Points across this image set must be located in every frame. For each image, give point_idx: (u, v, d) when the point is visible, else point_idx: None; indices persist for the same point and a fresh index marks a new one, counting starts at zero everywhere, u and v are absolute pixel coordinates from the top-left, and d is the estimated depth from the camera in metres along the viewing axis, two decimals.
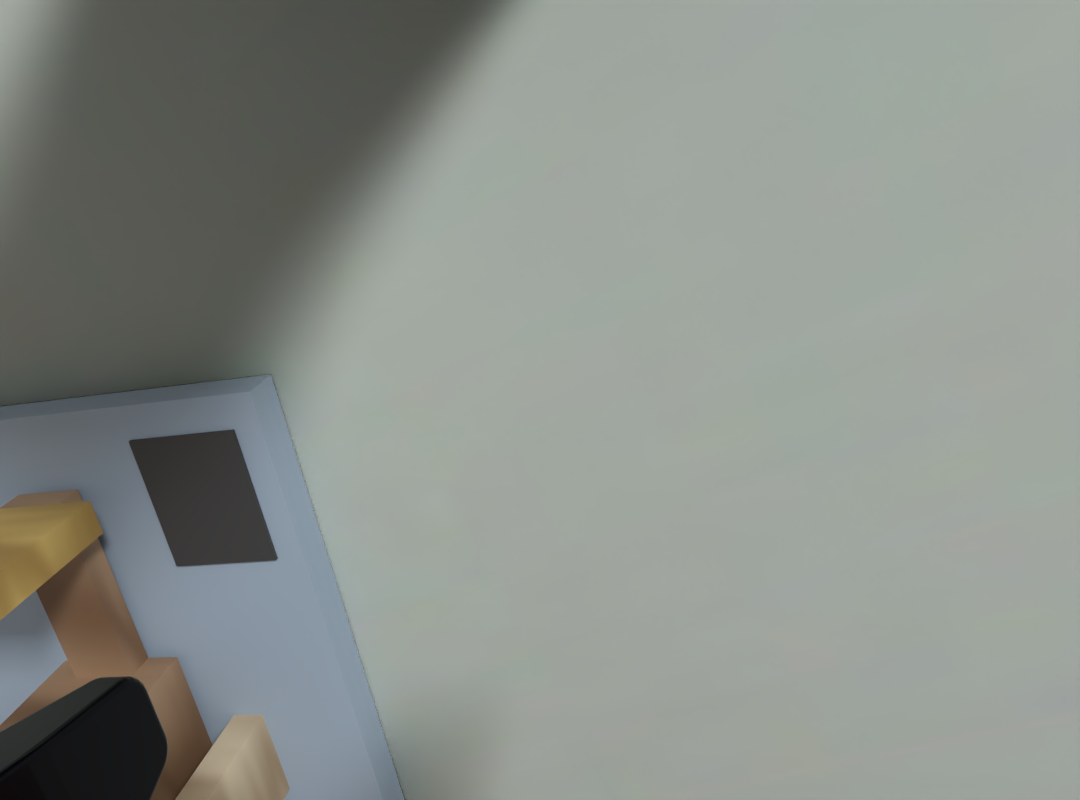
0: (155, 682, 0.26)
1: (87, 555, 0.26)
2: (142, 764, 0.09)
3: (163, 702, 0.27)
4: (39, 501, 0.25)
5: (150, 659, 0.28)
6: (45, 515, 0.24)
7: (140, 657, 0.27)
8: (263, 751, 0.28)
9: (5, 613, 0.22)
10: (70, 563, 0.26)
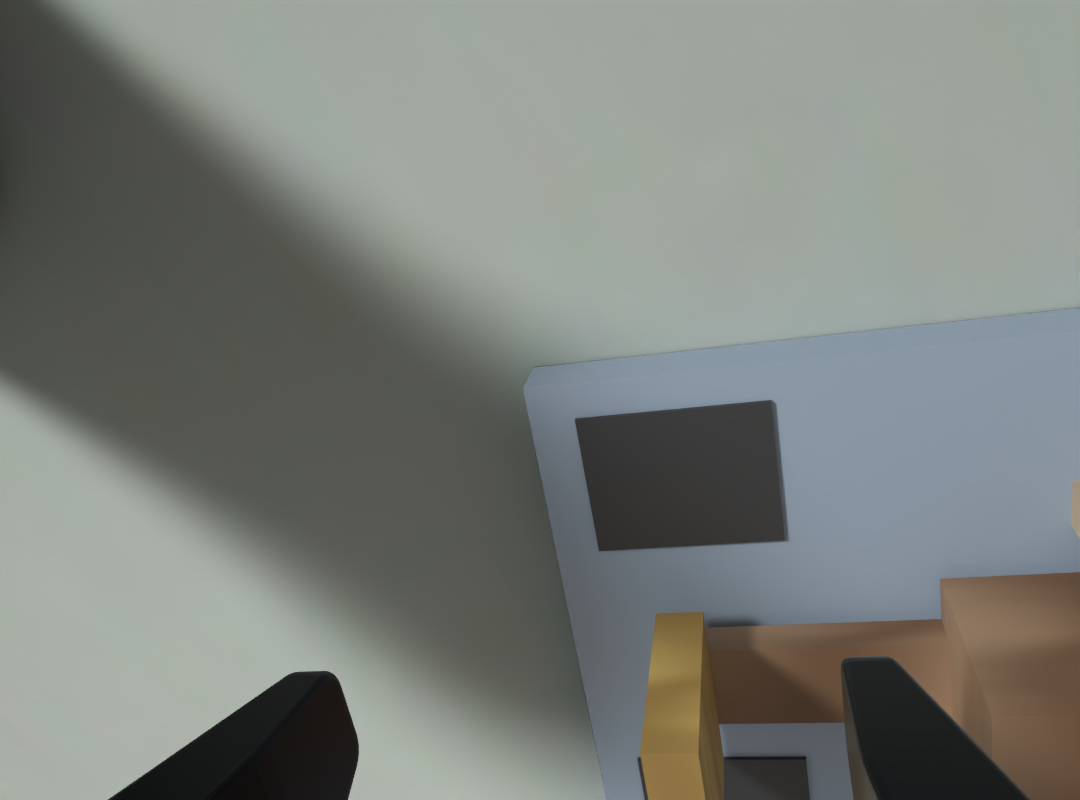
0: (953, 612, 0.18)
1: (746, 643, 0.19)
2: (340, 764, 0.08)
3: (993, 610, 0.17)
4: None
5: (943, 616, 0.19)
6: None
7: (931, 627, 0.19)
8: None
9: (698, 741, 0.16)
10: (752, 666, 0.19)
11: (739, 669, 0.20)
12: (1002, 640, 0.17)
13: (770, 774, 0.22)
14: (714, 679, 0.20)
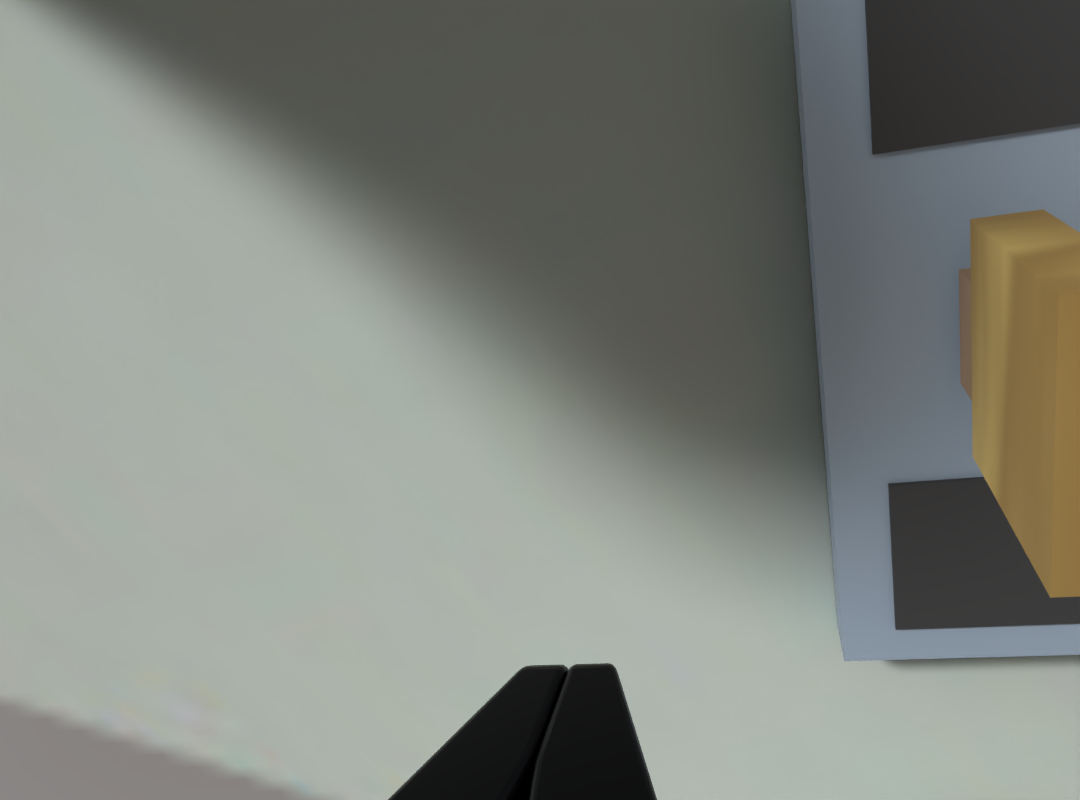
0: None
1: None
2: None
3: None
4: (967, 328, 0.15)
5: None
6: (981, 289, 0.13)
7: None
8: None
9: None
10: None
11: None
12: None
13: None
14: None
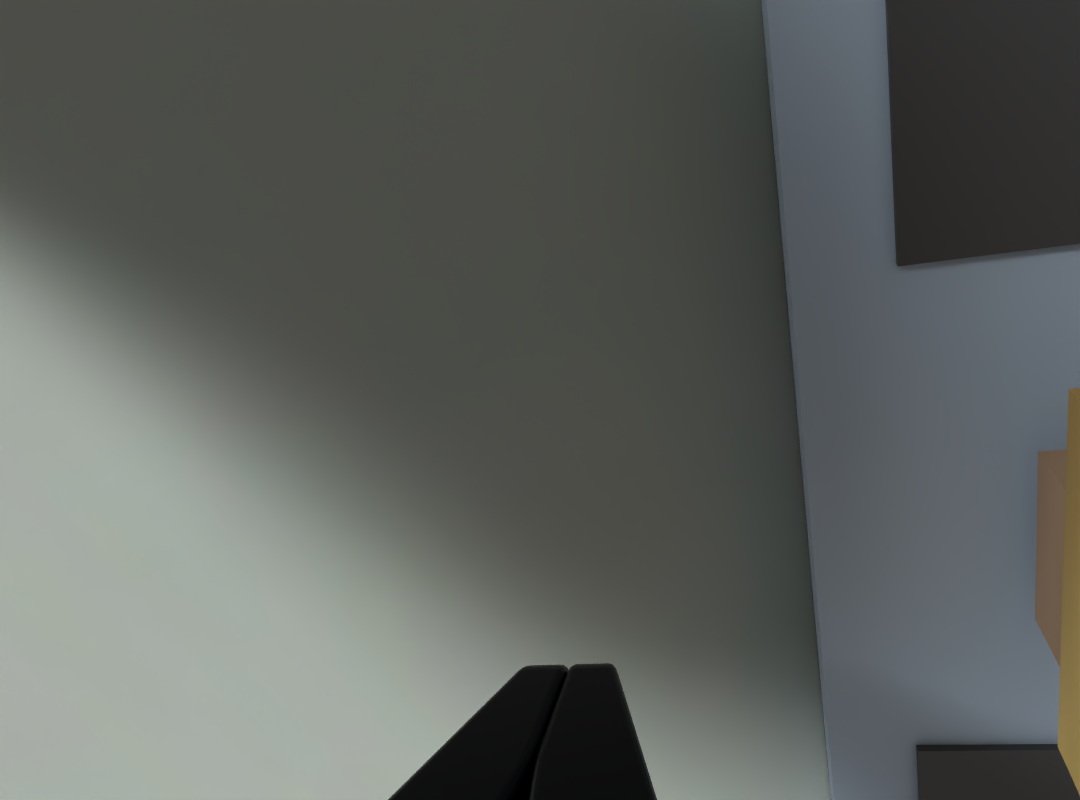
0: None
1: None
2: None
3: None
4: (1054, 553, 0.09)
5: None
6: None
7: None
8: None
9: None
10: None
11: None
12: None
13: None
14: None
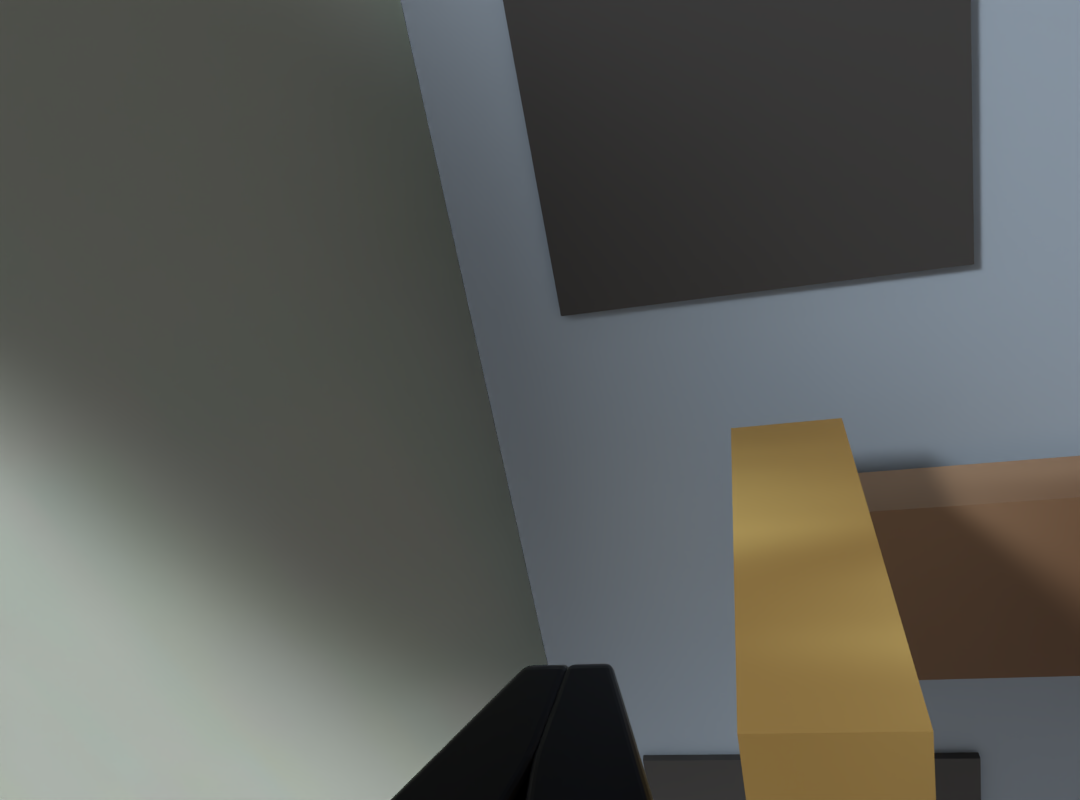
0: None
1: (931, 496, 0.09)
2: None
3: None
4: None
5: None
6: None
7: None
8: None
9: (921, 696, 0.05)
10: (948, 548, 0.09)
11: (916, 556, 0.09)
12: None
13: None
14: None
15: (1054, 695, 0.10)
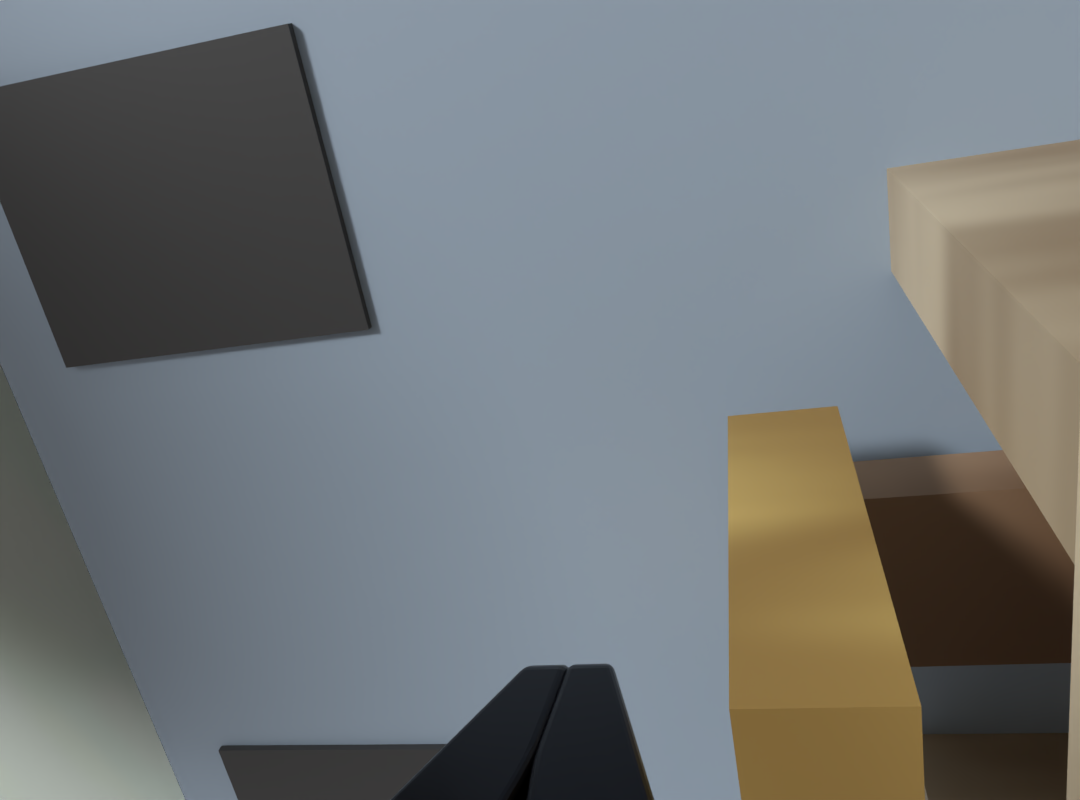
0: None
1: (925, 485, 0.09)
2: None
3: None
4: None
5: None
6: None
7: None
8: (1013, 161, 0.08)
9: (909, 673, 0.05)
10: (943, 535, 0.09)
11: (911, 543, 0.09)
12: None
13: None
14: None
15: None
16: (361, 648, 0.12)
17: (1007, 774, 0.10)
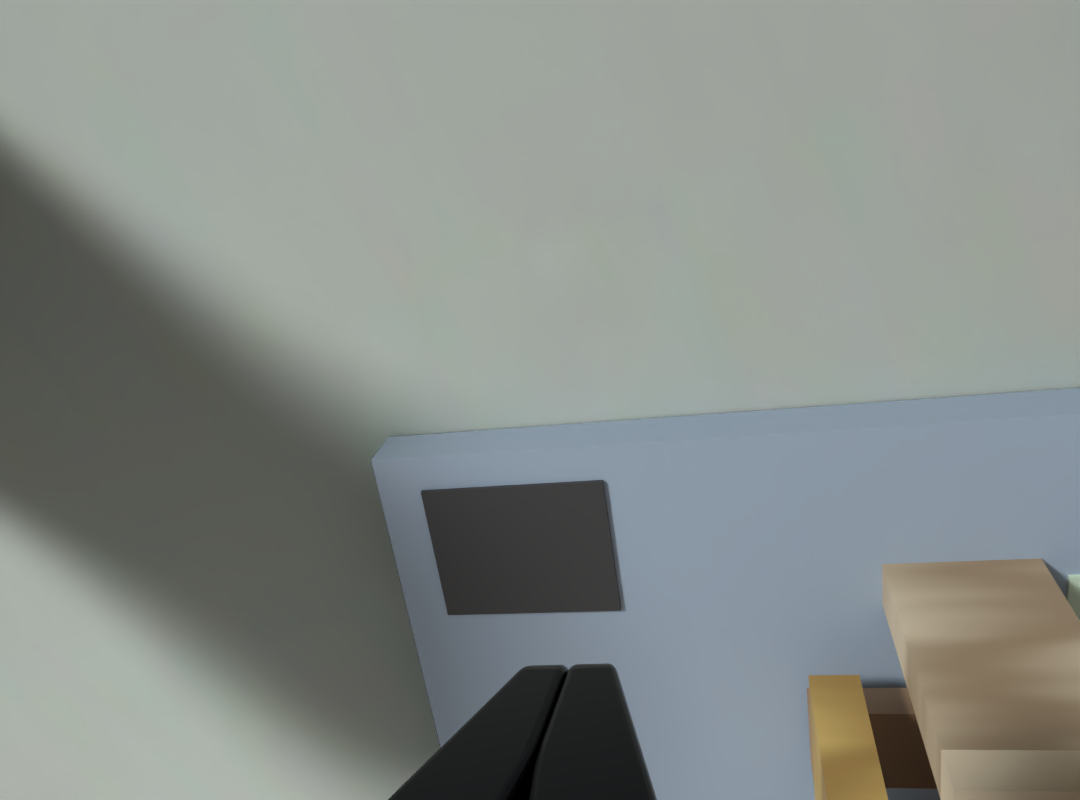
0: None
1: (898, 706, 0.19)
2: None
3: None
4: (810, 736, 0.20)
5: None
6: (813, 732, 0.18)
7: None
8: (937, 577, 0.18)
9: None
10: (905, 731, 0.19)
11: (890, 733, 0.19)
12: None
13: None
14: None
15: (679, 787, 0.22)
16: None
17: None
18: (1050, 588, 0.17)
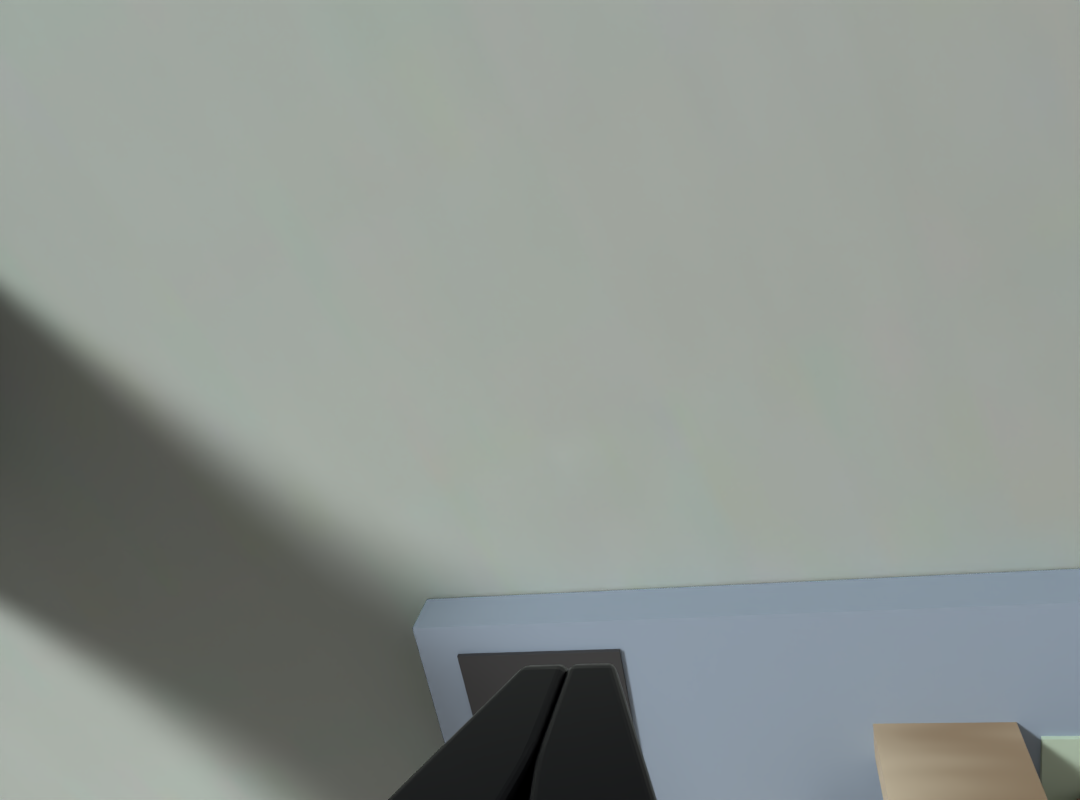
0: None
1: None
2: None
3: None
4: None
5: None
6: None
7: None
8: (922, 740, 0.20)
9: None
10: None
11: None
12: None
13: None
14: None
15: None
16: None
17: None
18: (1022, 757, 0.19)
